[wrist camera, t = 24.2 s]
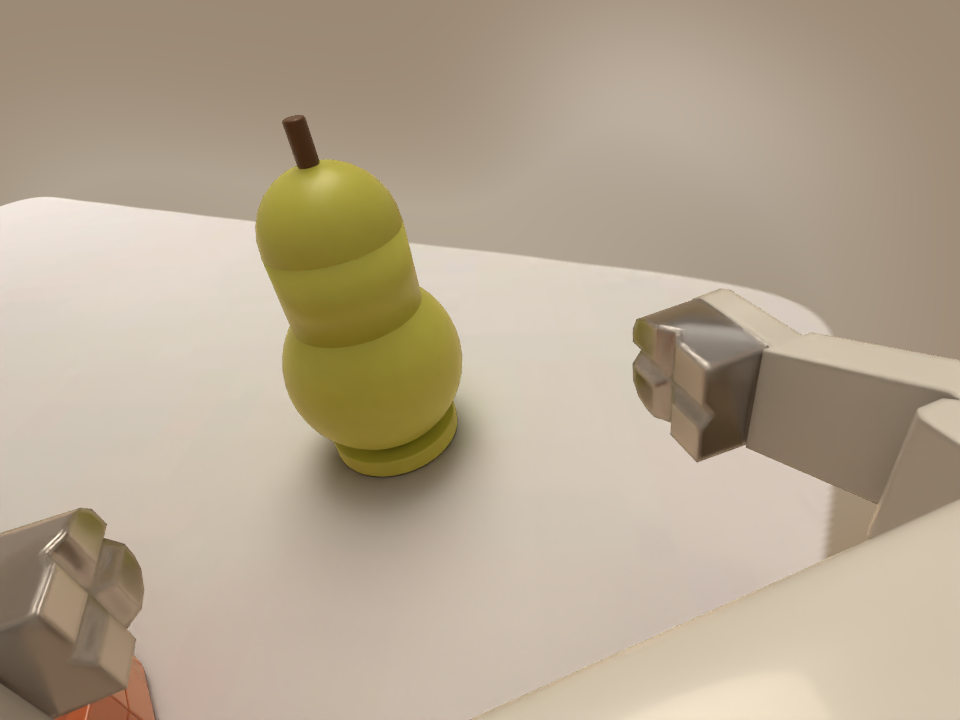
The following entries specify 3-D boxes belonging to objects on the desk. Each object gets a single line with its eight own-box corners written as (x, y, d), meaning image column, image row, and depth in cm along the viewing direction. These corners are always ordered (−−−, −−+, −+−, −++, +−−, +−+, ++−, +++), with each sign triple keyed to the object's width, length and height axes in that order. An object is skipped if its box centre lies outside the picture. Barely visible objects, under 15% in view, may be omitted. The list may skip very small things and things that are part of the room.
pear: (328, 518, 18) (157, 179, 12) (312, 408, 23) (184, 122, 16) (499, 456, 19) (432, 111, 13) (450, 363, 24) (383, 76, 17)
